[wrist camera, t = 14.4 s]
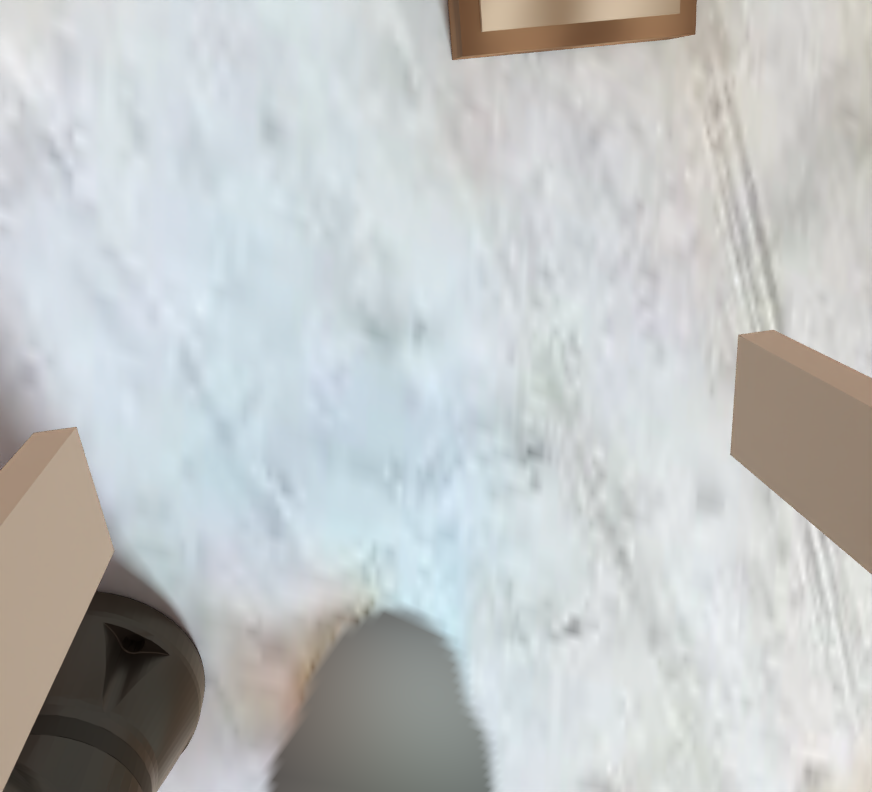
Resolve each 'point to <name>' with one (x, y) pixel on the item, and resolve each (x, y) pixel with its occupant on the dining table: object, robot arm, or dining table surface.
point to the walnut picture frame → (562, 24)
